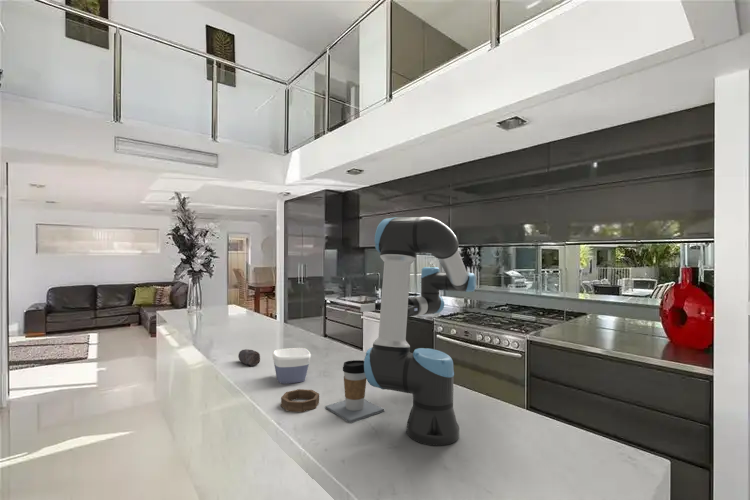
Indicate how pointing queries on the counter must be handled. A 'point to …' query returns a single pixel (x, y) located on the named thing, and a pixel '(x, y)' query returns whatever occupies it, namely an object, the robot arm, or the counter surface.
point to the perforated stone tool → (249, 357)
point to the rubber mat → (353, 416)
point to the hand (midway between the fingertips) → (372, 310)
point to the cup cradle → (299, 405)
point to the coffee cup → (354, 384)
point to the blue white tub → (291, 364)
